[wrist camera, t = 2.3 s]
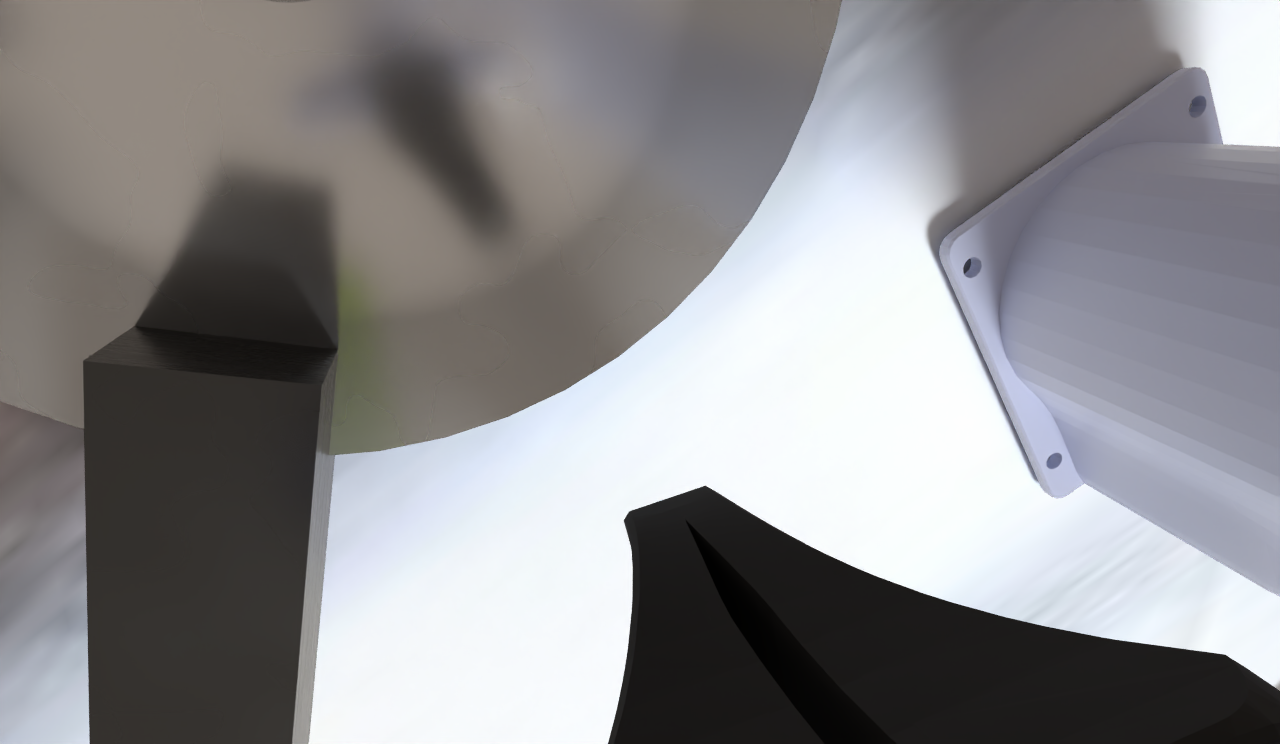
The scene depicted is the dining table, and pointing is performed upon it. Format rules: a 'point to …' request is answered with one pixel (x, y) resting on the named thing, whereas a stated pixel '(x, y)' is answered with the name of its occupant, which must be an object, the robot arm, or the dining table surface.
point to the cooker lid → (339, 272)
